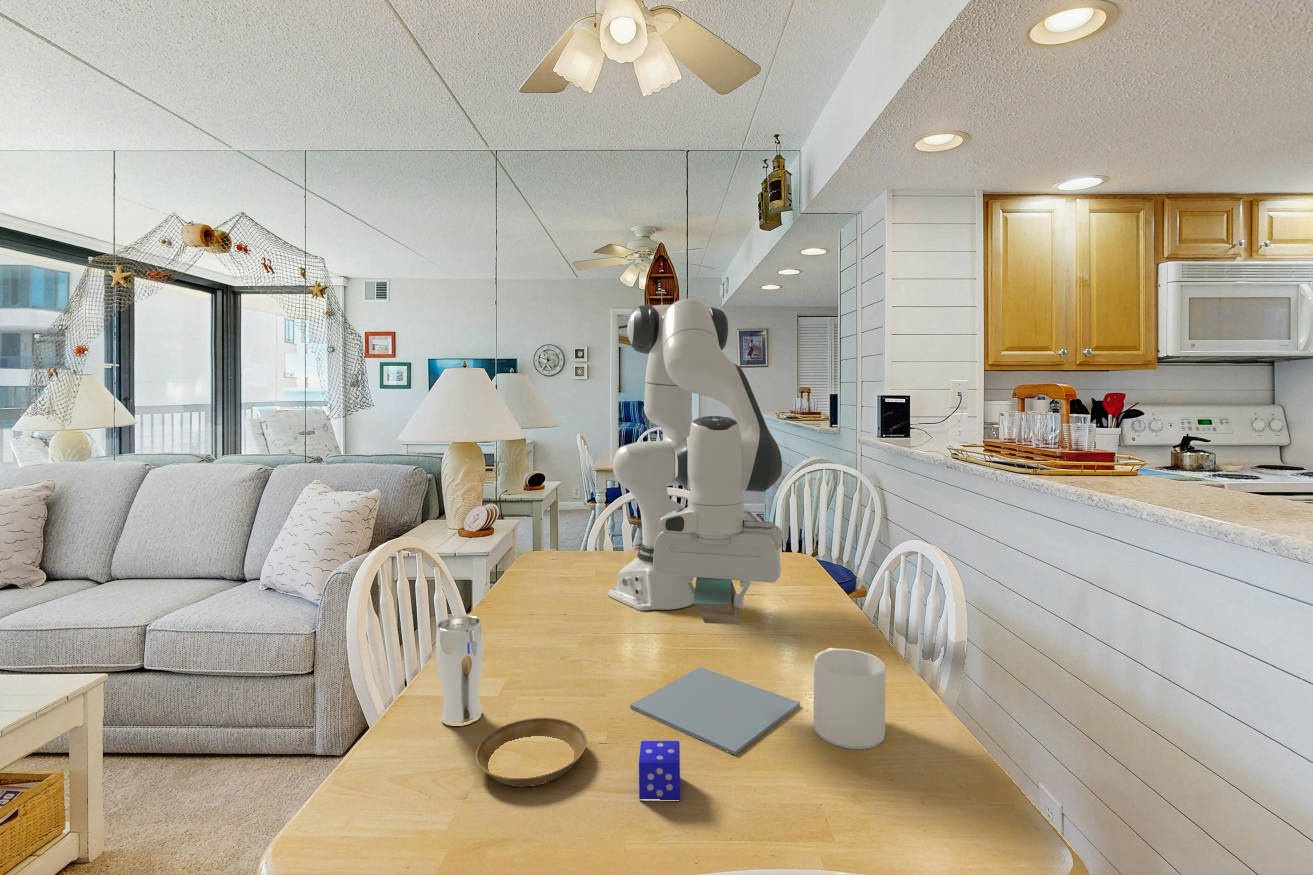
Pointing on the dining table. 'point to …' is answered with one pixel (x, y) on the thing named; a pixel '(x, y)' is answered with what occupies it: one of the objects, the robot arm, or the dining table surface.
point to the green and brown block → (716, 600)
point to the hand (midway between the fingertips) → (716, 604)
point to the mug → (849, 698)
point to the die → (659, 770)
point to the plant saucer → (528, 729)
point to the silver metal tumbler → (460, 667)
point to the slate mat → (716, 709)
